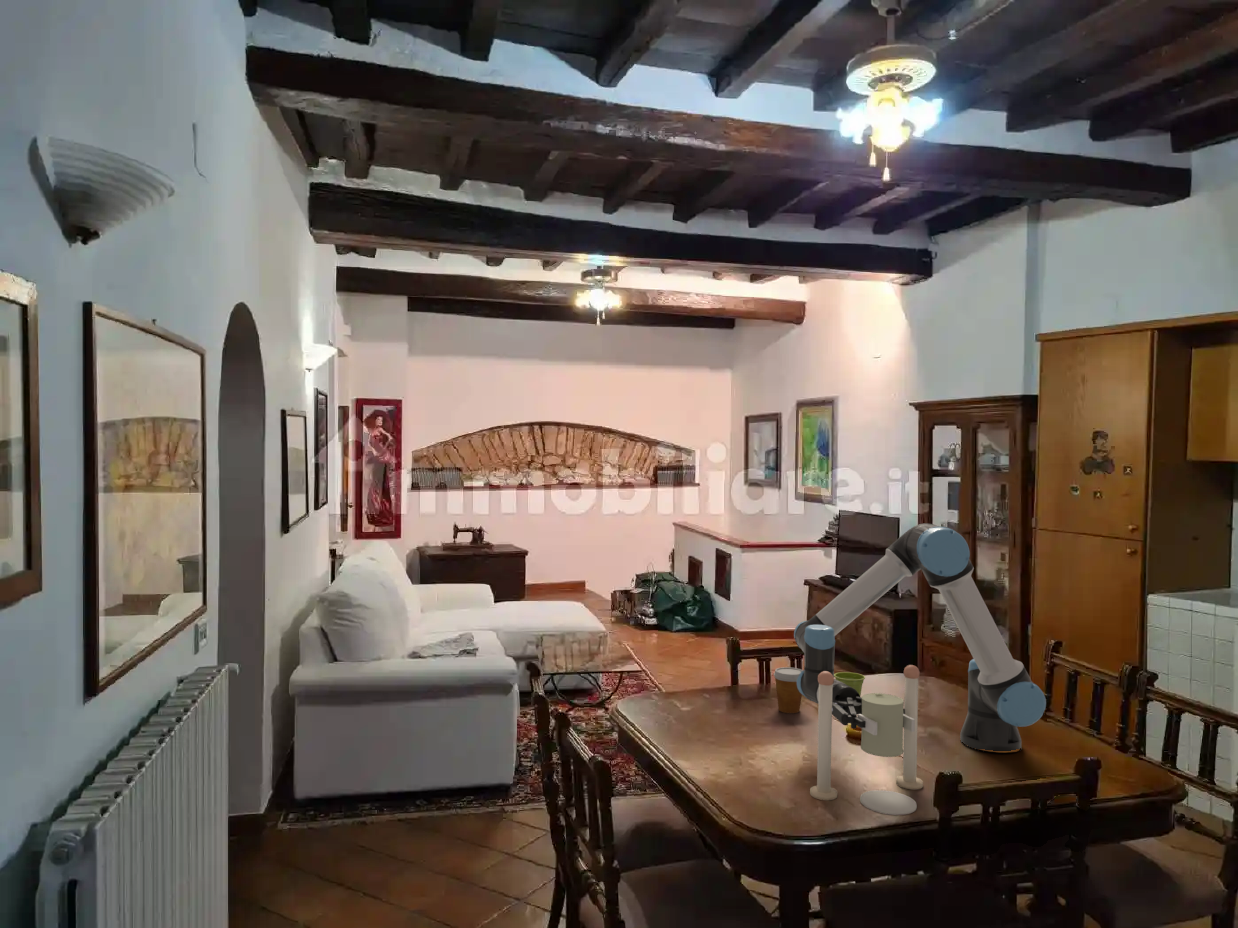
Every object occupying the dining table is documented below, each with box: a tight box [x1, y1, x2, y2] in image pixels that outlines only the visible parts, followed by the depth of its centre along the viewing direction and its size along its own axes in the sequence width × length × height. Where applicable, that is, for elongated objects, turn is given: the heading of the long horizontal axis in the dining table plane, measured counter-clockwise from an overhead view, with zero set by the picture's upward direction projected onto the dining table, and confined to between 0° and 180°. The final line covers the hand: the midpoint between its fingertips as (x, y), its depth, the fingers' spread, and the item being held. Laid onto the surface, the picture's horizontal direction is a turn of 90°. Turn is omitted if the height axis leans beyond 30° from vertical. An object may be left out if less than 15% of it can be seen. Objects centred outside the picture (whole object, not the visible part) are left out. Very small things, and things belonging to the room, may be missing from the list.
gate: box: [809, 664, 924, 801], centre depth 197 cm, size 29×6×28 cm, turn 107°
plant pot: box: [834, 671, 866, 697], centre depth 265 cm, size 9×9×9 cm
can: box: [860, 692, 904, 758], centre depth 191 cm, size 9×9×12 cm
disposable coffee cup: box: [773, 666, 804, 714], centre depth 257 cm, size 10×10×12 cm
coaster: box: [859, 789, 917, 816], centre depth 189 cm, size 12×12×1 cm
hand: (894, 727), depth 187 cm, fingers closed on can, 9 cm apart
